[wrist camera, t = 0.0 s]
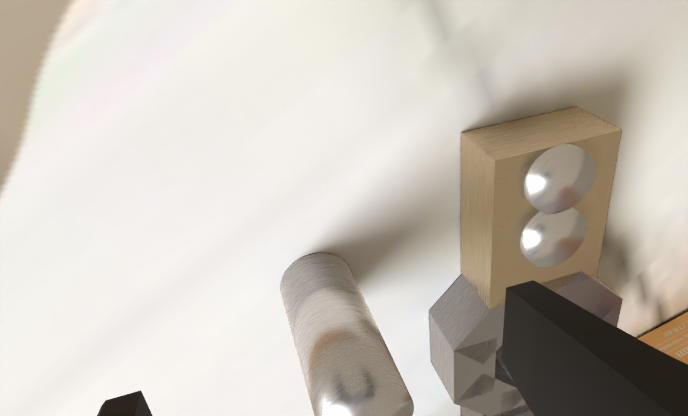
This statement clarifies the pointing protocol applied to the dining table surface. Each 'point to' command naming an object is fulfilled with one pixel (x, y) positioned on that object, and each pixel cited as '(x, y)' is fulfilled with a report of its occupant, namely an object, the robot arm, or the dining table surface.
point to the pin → (340, 342)
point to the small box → (671, 338)
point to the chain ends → (522, 243)
